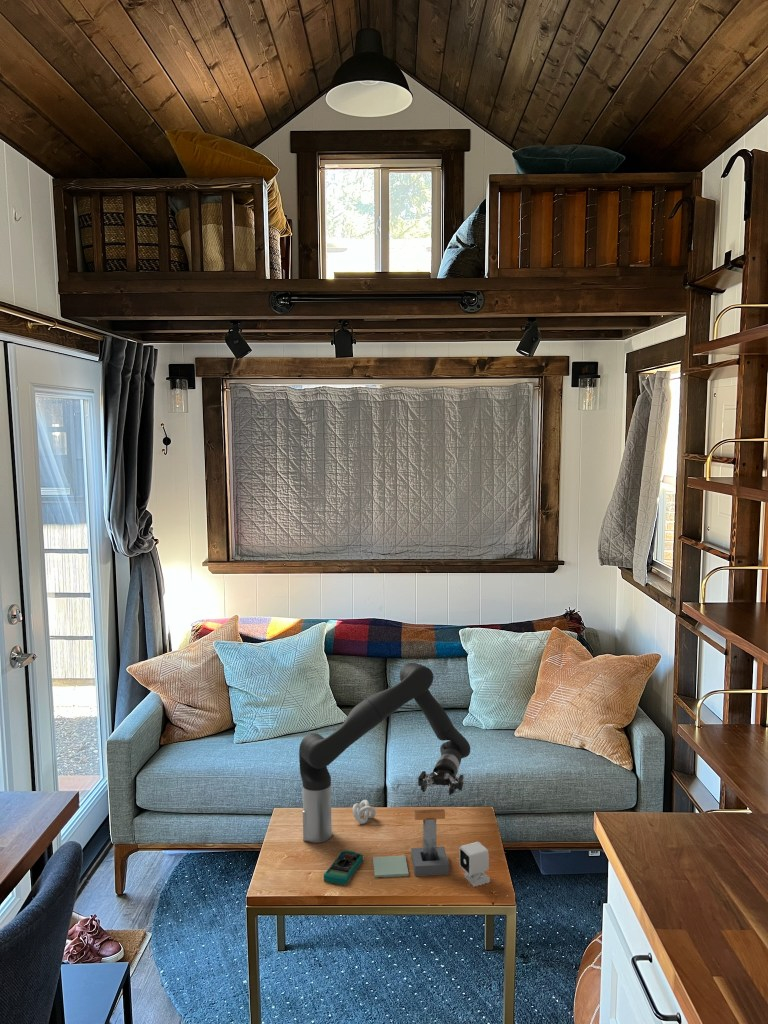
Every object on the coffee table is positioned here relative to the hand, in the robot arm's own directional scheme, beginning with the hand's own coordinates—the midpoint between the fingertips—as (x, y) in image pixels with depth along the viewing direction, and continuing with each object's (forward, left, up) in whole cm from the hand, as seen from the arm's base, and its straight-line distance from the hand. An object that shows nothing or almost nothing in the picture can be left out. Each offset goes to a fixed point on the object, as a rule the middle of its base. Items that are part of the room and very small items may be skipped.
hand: (436, 790), depth 234 cm
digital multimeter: (-30, -10, -19) cm, 37 cm away
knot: (-23, +20, -19) cm, 36 cm away
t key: (-4, -10, -19) cm, 21 cm away
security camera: (+8, -19, -19) cm, 28 cm away
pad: (-16, -10, -19) cm, 26 cm away
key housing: (-4, -10, -19) cm, 21 cm away
